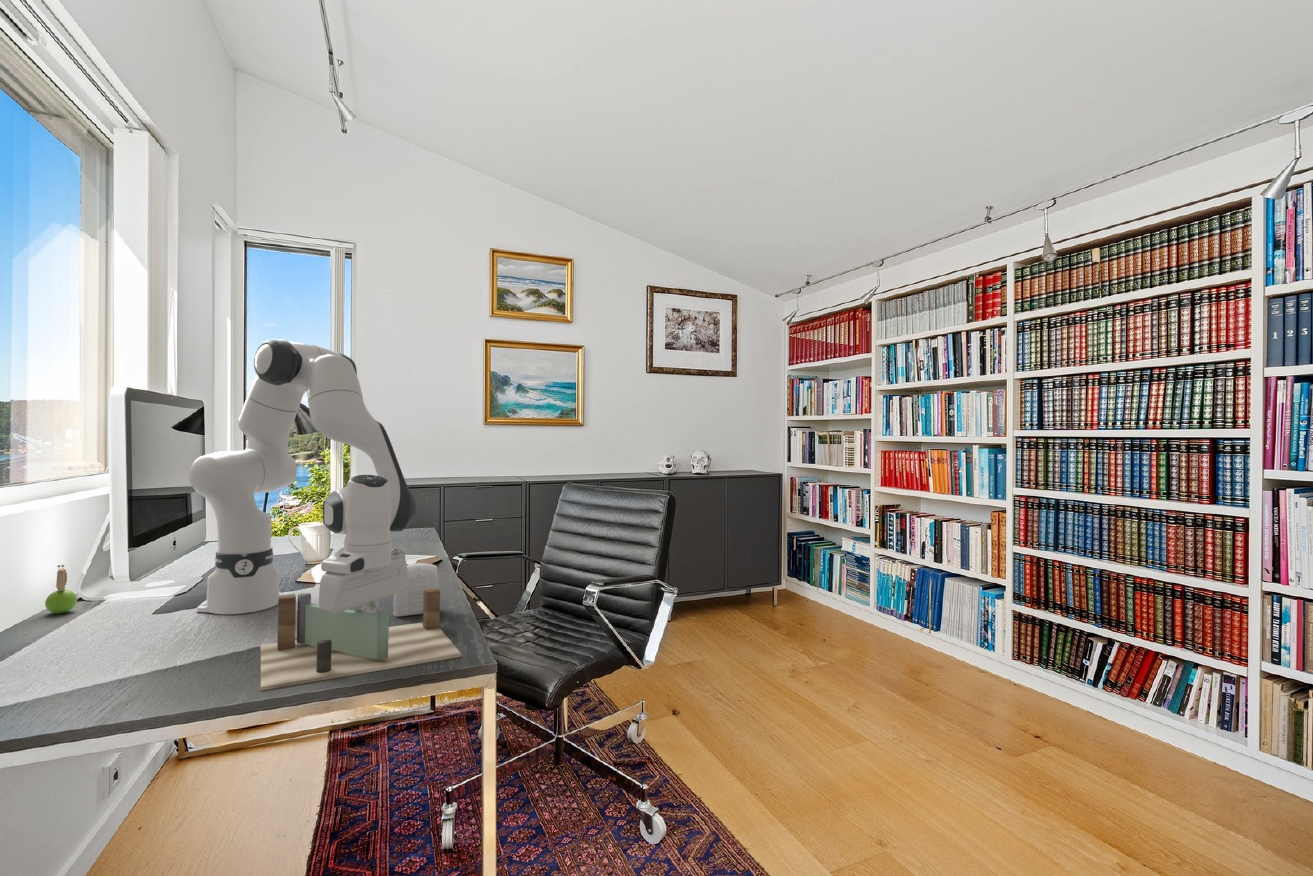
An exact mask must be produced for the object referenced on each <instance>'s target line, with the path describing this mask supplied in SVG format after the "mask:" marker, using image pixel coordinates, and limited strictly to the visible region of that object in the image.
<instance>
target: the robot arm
mask: <svg viewBox="0 0 1313 876" xmlns="http://www.w3.org/2000/svg"><path fill="white" fill-rule="evenodd" d="M253 368H254V371H255V373H256V376H255V378H254V380H253V381H252V384H251V386H250V389H249V390H248V391H249V392H248V394H247V396H246V398H245V401H244V404H243V407H242V410H241V413H240V415H239V417H238V420H237V423H238V424H237V426H238V428H239V429H240V431H241V432H242V434H244V435H245V436H246V437H247V445H246V447H245V449H244V450H223V451H217V452H212V453H208V454H204V455H201V456H199V457H197V458H196V459H194V461H193V462H192V464H191V466H190V469H189V472H188V479H189V482H190V485H191V487H192V489H194V491H195V492H196V493H197V494H199V495H201V496H202V497H203V498H205V500H207V502H208V504H209V505H210V506H211V508H212V510H213V512H214V514H215V517H216V523H217V524H216V525H217V551H216V552H215V557H214V563H215V565H214V566H215V570H214V571H213V572H212V573H210V575H209V576H207V580H206V584H207V585H206V588H207V589H206V600H204V601H203V602H201V604H199V605H198V606H197V607H196V612H197V613H211V614H216V615H238V614H241V615H242V614H248V613H254V612H260V611H263V610H268V609H270V608H273V607H276V606H278V596H280V595H284V593H282V592H281V591H280V571H279V570H278V569H277V568H276V567H275V566H274V565H273V564H272V563H273V562H274V561H273V559H274V550H273V548H272V519H271V517H270V515H269V514H268V513H266V512H265V511H262V510H261V509H260V508H259V506H257V505H258V504H257V503H256V500H255V494H262V493H273V492H276V491H278V490H281V489H284V488H287V487H289V486H291V485H292V484H293V483H294V481H295V480H296V477H297V471H298V470H297V464H296V461H295V460H294V458H293V456H292V455H290V454H291V453H290V452H289V438H290V437H289V436H290V433H291V430H292V427H293V425H294V422H295V420H296V416H297V413H298V411H299V408H300V406H301V403H302V399H303V397H304V395H305V393H306V392H307V395H306V396H307V403H308V405H307V406H308V411H309V416H310V420H311V422H312V424H313V427H314V429H316V431H318V432H319V433H320V434H321V435H322V436H324V437H325V438H327V439H330V440H332V441H335V442H338V443H341V444H344V445H348V446H351V447H352V448H355V449H358V450H359V451H362V452H364V453H365V454H366V455H367V456H368V457H369V458H370V459H371V461H372V463H373V466H374V469H375V472H376V474H377V475H374V474H358V475H355V476H351V478H349V479H348V481H347V483H346V486H344V487H342V488H339V489H338V490H334V491H332V492H331V493H329V494H328V495H327V496H326V497H325V499H323V501H322V524H323V525H324V526H325V527H326V528H327V529H328V531H330V532H332V533H334V534H337V535H338V534H339V535H345V536H344V540H343V547H342V548H340V549H338V550H337V551H336V552H334V553H333V554H331V555H329V556H328V557H327V558H325V559H323V560H322V561H321V563H320V564H321V566H320V569H321V571H323V572H325V573H323V575H322V576H321V579H320V582H319V589H318V591H319V592H318V604H319V607H320V609H321V610H322V611H323V612H325V613H331V614H337V613H340V612H343V611H346V610H348V609H349V610H352V609H353V610H355V611H360V612H366V613H372V614H376V613H377V610H378V608H379V606H380V600H381V599H384V598H387V597H390V596H394V594H396V593H399V592H402V591H405V590H406V588H407V586H408V570H407V565H408V564H407V561H406V552H404V550H403V549H401V548H395V549H392V547H393V546H392V535H391V532H403V530H405V529H406V528H408V526H410V524H411V523H412V522H413V520H414V519H415V518H416V515H417V503H416V499H415V497H414V494H413V493H412V491H411V489H410V487H409V485H408V484H407V481H406V480H405V476H404V474H403V471H402V469H401V466H400V464H399V461H398V458H397V456H396V453H395V451H394V450H395V449H394V447H393V445H392V442H391V440H390V437H389V435H388V433H387V429H385V426H384V425H383V424H382V423H381V422H380V421H378V420H376V419H375V418H374V417H373V416H372V414H371V413H370V412H369V410H368V409H367V407H366V405H365V401H364V398H363V391H362V389H361V384H360V381H359V378H358V371H357V366H356V363H355V361H354V360H353V359H352V358H350V357H349V356H347V355H345V354H344V353H341V352H335V351H334V350H331V349H327V348H324V347H321V346H317V345H313V344H311V345H310V344H307V343H301V342H294V341H289V340H287V339H283V338H282V339H281V338H280V339H279V338H271V339H270V338H269V339H267V340H265V341H263V342H262V343H261V345H259V346H258V347H257V350H256V352H255V355H254V359H253Z"/></svg>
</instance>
